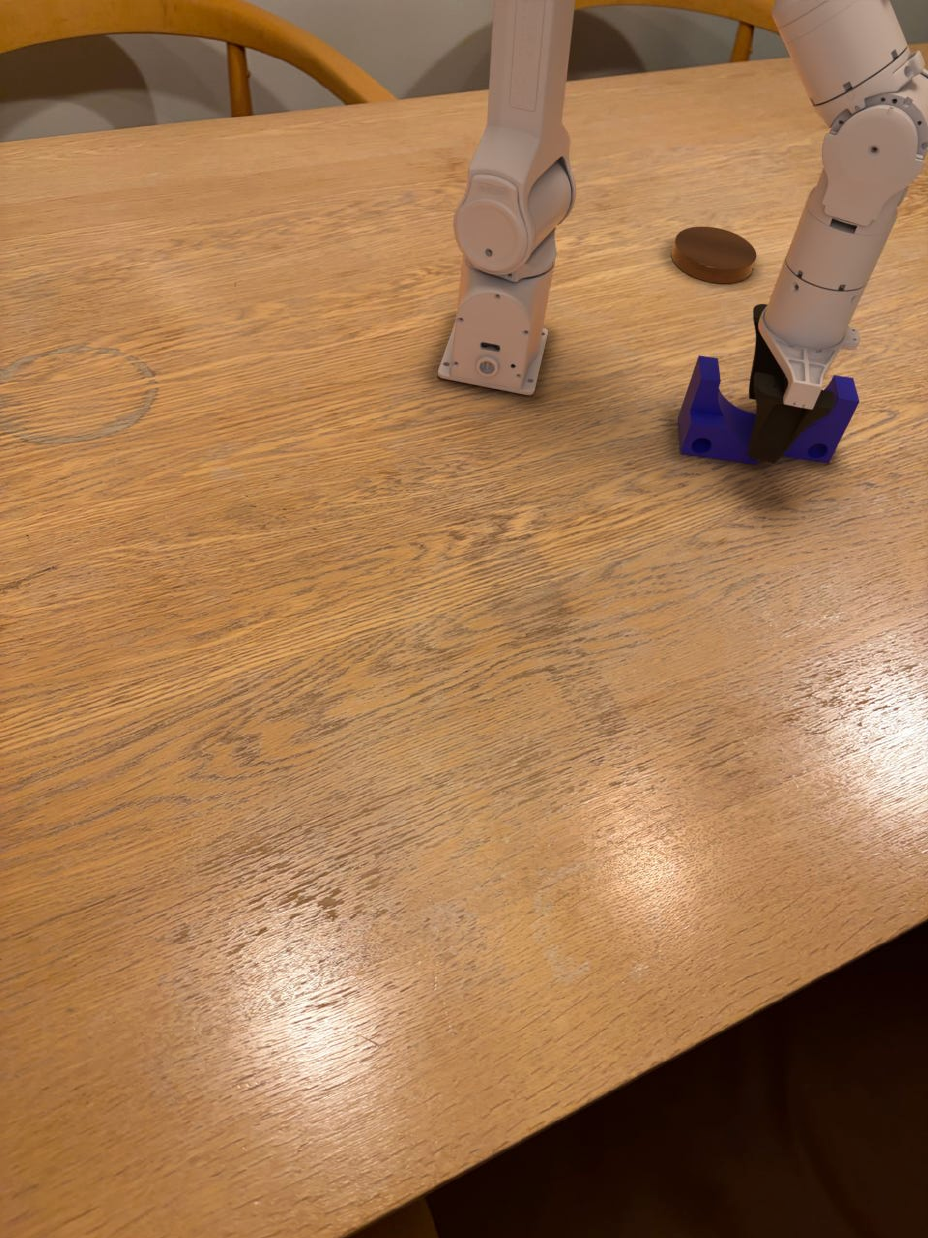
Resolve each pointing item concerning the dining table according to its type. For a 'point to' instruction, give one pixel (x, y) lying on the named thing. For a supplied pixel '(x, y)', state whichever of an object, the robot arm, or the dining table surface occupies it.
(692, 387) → the blue clamp bracket
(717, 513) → the dining table surface
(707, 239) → the walnut chip
